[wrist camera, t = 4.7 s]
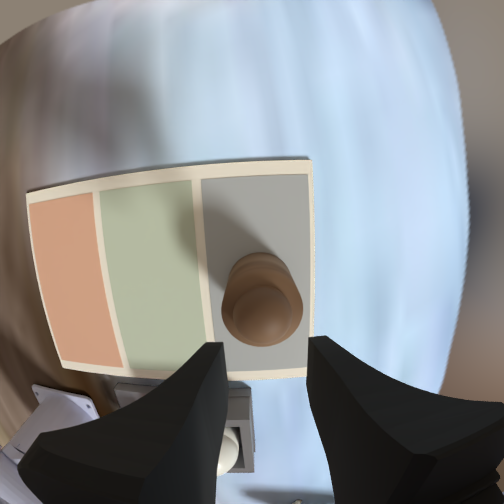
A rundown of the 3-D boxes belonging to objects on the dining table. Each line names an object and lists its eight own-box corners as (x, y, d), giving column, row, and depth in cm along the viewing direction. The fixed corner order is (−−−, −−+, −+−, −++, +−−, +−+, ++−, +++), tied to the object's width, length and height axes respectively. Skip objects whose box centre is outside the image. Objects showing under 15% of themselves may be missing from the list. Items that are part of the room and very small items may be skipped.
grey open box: (255, 444, 22) (255, 474, 18) (139, 437, 22) (128, 464, 18) (250, 388, 20) (251, 420, 17) (118, 382, 21) (101, 409, 17)
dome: (241, 445, 21) (240, 489, 16) (186, 444, 21) (176, 485, 16) (237, 407, 20) (234, 454, 15) (175, 406, 20) (160, 450, 15)
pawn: (291, 310, 19) (308, 362, 13) (230, 314, 19) (221, 367, 13) (291, 250, 18) (310, 281, 12) (225, 253, 18) (213, 286, 12)
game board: (310, 373, 20) (311, 376, 20) (64, 366, 20) (62, 367, 20) (311, 160, 17) (312, 159, 17) (28, 193, 17) (25, 193, 17)
